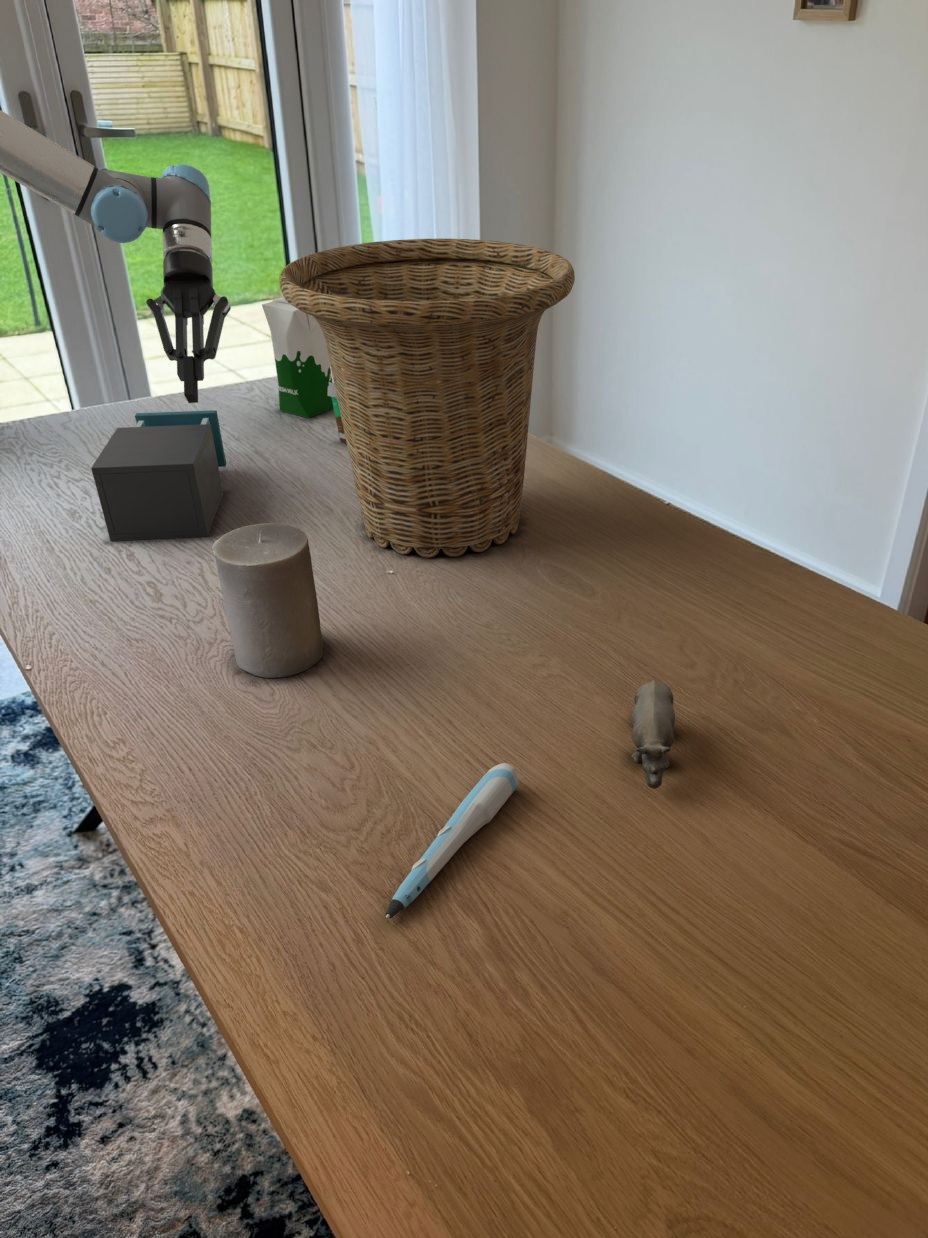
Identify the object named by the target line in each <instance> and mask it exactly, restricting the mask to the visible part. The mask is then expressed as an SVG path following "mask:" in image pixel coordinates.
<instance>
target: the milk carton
mask: <svg viewBox="0 0 928 1238" xmlns="http://www.w3.org/2000/svg"><path fill="white" fill-rule="evenodd" d="M261 306H262V310H263V313H264V316H265V318H266V323H267V325H268V327H269V332H270V337H271V343H272V350H273V355H274V356H273V358H274V364H275V371H276V377H277V386H278V402H279V403H278V404H279V411H280V412H285V413H287V414H291V415H295V416H299V417H303V418H306V419H310V418H312V417H314V416H318V415H321V414H322V413H325V412H328V411H330V410H334V407H333V403H332V398H331V396H327V395H328V386H329V382H332V383H333V376H332V370H331V366H330V361H329V356H328V352H327V347H326V342H325V338H324V335H323V332H322V330H321V328H320V326H319V324H318V322H317V321H316V319H315V318H314V317H313V316H311V315H309V314H306V313H304V312H302V311H300V310H299V309H297V308H296V307H294V306H293V305H291V304H289V303H288V302H287V301H286V300H285V298H284V297H281V298H276V299H273V300H272V301H269V302H265V303H262V304H261Z"/></svg>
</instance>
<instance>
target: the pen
mask: <svg viewBox="0 0 928 1238" xmlns="http://www.w3.org/2000/svg"><path fill="white" fill-rule="evenodd" d="M518 785H519V778H518V775H517V772H516V771H515V768H514V767H513V765H511V764H509V763H508V762H503V763H499V764H497V765H494V766H493V767H491V768H490V769H489V770H487V772H486V773H485V774H484V775H483V776H482V777H481V778H480V780H479V781H478V782H477V783H476V784H475V785H474V787H473V788H472V789H471V790H470V791H469V793H468V794H467V795H466V796H465V797H464V799H463V800H462V801H461V803H459V805H458V807H456V809H455V811H453V813H452V815H451V817H449V819H448V820H447V822H446V823H445V825H444V826H443V828H441V829H440V830H439V831H438V833H437V835H436V837H435V838H434V840H433V841H432V843H431V844H430V845H429V846H428V847H427V849H426V851H425V852H424V853H423V854H422V856H421V857H420V859H419V860H418V861H416V862H415V863H414V864H413V865H412V867H411V870H410V872H409V873H408V875H407V876H406V878H404V880H403V881H402V882H401V883H400V885H399V887H398V888H397V890H396V892H395V893H394V895H393V896H392V898H391V901H390V903H389V905H388V908H387V910H386V912H385V919H386V920H388V919H392V918H393V917H395V916H396V915H397V914H398V913H400V912H401V911H403V910H405V908H407V907H408V906H409V905H411V904H412V903H413V901H414V900H415V899H416V898H418V896H420V894H421V893H422V892H423V890H424V889H425V888H426V887H427V886H428V885H429V883H431V882H432V880H433V879H434V878H435V877H436V875H438V873H439V872H440V871H441V870H442V869H443V868H444V866H445V865H446V864H447V863H448V862H449V861H450V860H451V858H452V857H453V856H454V855H455V854H456V853H457V852H458V850H459V849H460V848H461V847H462V846H463V845H464V843H466V842H467V841H468V840H469V839H471V838H472V837H473V835H475V834H476V833H477V832H478V831H479V830H480V829H481V828H483V827H484V826H485V825H487V824H489V823H490V822H491V821H492V820H493V819H494V817H495V816H496V815H497V814H498V812H499V811H500V810H501V808H502V807H503V805H505V803H506V802H507V801H508V799H509V798H510V797H511V796H512V794H513V793H514V792H515V791H516V789H517V787H518Z"/></svg>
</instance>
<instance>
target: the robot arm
mask: <svg viewBox="0 0 928 1238" xmlns="http://www.w3.org/2000/svg"><path fill="white" fill-rule="evenodd" d="M0 174H1V175H4V176H5V177H7V178H8V179H10V180H13V182H16V183H18V184H19V185H21V186H23V187H25V188H27V189H29V190H30V191H32V192H34V193H35V194H37V195H38V196H41V197H43V198H44V199H47V200H48V201H50V202H51V203H53V204H55V205H58V206H59V207H61V208H62V209H64V210H66V211H68V212H69V213H71V214H73V215H74V216H76V217H77V218H79V219H81V220H83V221H84V222H86V223H88V224H89V225H91V226H93V227H94V228H96V230H97V231H98V232H99V233H100V234H101V235H102V236H103V237H104V238H106V239H107V240H110V241H112V242H115V243H118V244H129V243H131V242H135V241H136V240H137V239H139V237H141V236H142V234H143V233H144V231H145V230H146V228H150V229H153V230H154V229H155V230H162V258H163V260H162V271H163V272H162V273H163V276H162V277H163V278H162V279H163V286H162V288H161V290H160V295H159V296H158V297H156V298H154V299H153V298H147V300H146V301H145V302H146V303H145V304H146V306H147V307H148V309H149V311H150V313H151V314H152V315H153V317H154V321H155V323H156V328H157V330H158V334H159V337H160V340H161V344H162V348H163V351H164V353H165V355H166V356H167V358H168V360H169V361H171V362H172V361H175V362H176V375H177V377H178V379H179V381H180V382H183V396H184V397H185V399H186V401H187V403H188V404H199V382H201V381H202V382H203V381H204V379H205V362H206V361H208V360H214V359H216V357H217V352H218V350H219V349H218V348H219V344H220V340H221V335H222V331H223V327H224V323H225V319H226V317H227V315H228V314H229V313H230V312H231V309H232V308H231V304H230V302H229V299H228V297H227V296H220V295H218V294H217V293H216V291H215V289H214V278H213V247H212V246H213V245H212V201H211V195H210V185H209V181H208V179H207V177H206V176H205V174H204V173H203V172H201V171H200V170H199V169H198V168H197V167H194V166H192V165H188V164H183V163H179V164H178V165H173V164H172V165H169V166H166V168H164V170H163V171H162V173H161V176H160V177H157V176H156V177H154V176H151V177H150V176H146V175H140V174H135V173H129V172H124V171H117V170H112V169H108V168H106V167H101V168H98V167H96V166H95V165H93V164H91V163H90V162H88V160H87V161H86V160H85V159H83V158H82V157H80V156H78V155H77V154H75V153H74V152H72V151H70V150H68V149H66V148H65V147H63V146H62V145H59V144H58V143H56V142H55V141H53V140H52V139H50V138H48V137H47V136H44V134H41V133H40V132H38V131H36V130H34V129H33V128H32V127H30V126H28V125H26V124H25V123H24V122H21V121H19V120H18V119H16V118H15V117H13V116H11V115H9V114H8V113H6V112H4V111H3V110H1V109H0ZM165 305H166V306H167V308H168V309H169V310H170V311H171V312H172V313H173V314H174V325H175V327H174V328H175V348H174V345H173V342H172V338H171V335H170V331H169V328H168V325H167V321H166V319H165V316H164V314H165V311H166V309H165ZM212 306H213V309H212V314H211V318H210V322H209V327H208V331H207V335H206V339H204V334H205V333H204V325H205V315H206V314H207V312H208V311H209V310H210V308H211V307H212ZM190 318H191V335H192V339H191V340H192V349H191V352H192V354H193V355H188V354H189V353H188V324H189V320H188V319H190Z"/></svg>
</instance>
